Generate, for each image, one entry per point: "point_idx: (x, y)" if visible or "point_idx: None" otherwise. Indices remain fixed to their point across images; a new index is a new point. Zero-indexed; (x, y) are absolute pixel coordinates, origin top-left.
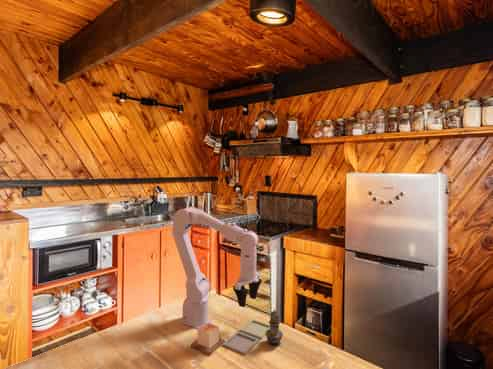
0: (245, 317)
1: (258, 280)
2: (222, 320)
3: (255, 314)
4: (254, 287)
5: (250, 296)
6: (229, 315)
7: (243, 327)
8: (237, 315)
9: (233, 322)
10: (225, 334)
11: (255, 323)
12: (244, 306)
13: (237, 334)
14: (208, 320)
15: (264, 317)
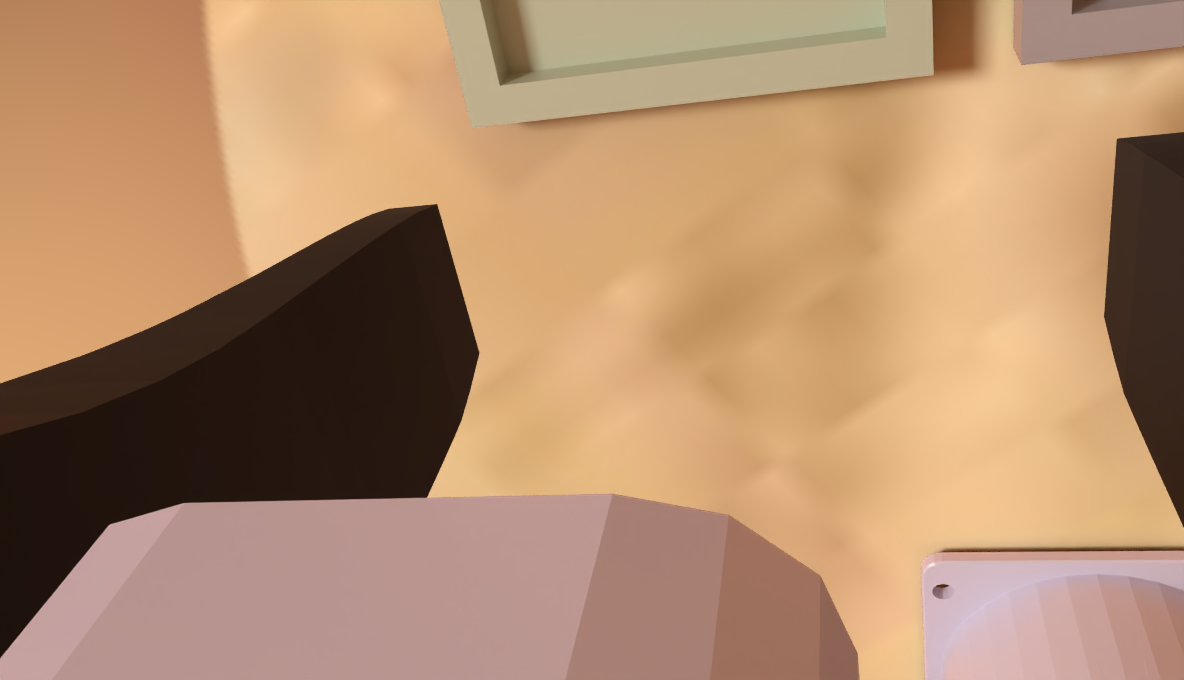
0: (487, 267)
1: (144, 565)
2: (813, 466)
3: (292, 202)
4: (260, 483)
5: (463, 374)
6: (627, 471)
7: (837, 60)
8: (538, 389)
9: (745, 318)
10: None
11: (521, 5)
12: (1158, 138)
13: (1094, 4)
14: (988, 595)
15: (230, 24)
